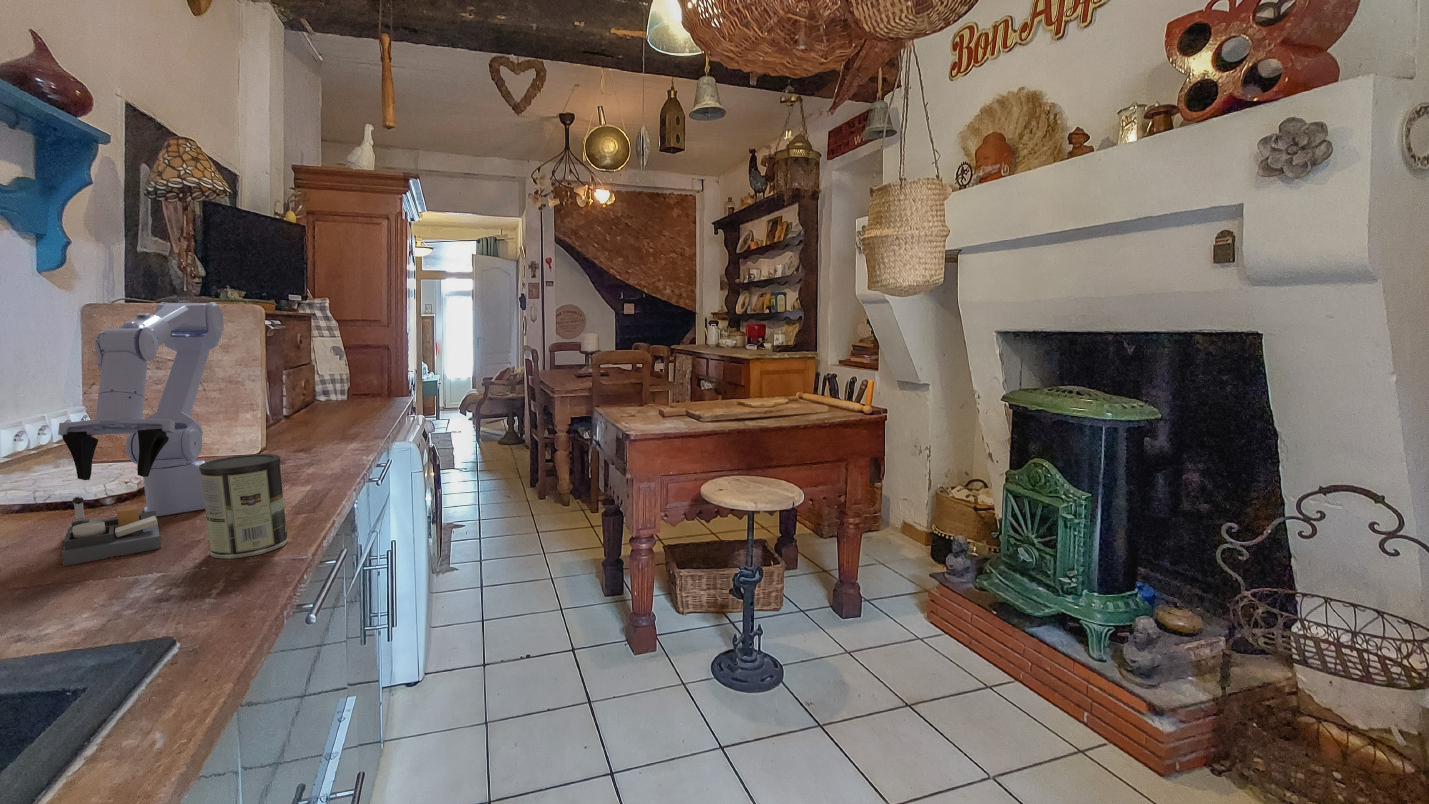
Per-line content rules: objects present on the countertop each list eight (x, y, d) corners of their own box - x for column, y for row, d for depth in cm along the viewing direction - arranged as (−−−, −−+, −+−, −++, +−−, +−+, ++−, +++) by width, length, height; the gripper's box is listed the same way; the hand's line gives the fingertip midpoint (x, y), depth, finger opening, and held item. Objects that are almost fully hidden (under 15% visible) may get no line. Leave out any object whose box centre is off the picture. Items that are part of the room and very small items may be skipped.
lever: (86, 518, 109) (83, 496, 109) (85, 517, 108) (83, 495, 108) (74, 520, 108) (72, 498, 108) (73, 519, 107) (71, 497, 107)
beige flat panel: (156, 519, 107) (154, 515, 107) (157, 524, 105) (155, 519, 104) (117, 532, 104) (115, 528, 103) (117, 537, 101) (115, 532, 101)
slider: (139, 521, 110) (137, 503, 110) (139, 526, 107) (137, 509, 107) (119, 524, 109) (117, 506, 108) (119, 530, 106) (116, 512, 105)
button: (106, 529, 103) (104, 519, 103) (105, 534, 100) (104, 525, 100) (74, 534, 101) (73, 524, 100) (72, 540, 98) (71, 530, 98)
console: (156, 521, 116) (154, 503, 116) (161, 548, 103) (158, 527, 103) (70, 535, 109) (68, 516, 109) (63, 566, 96) (60, 544, 95)
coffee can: (258, 533, 110) (250, 451, 108) (303, 540, 107) (295, 456, 105) (192, 554, 100) (182, 465, 98) (239, 562, 97) (230, 470, 95)
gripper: (51, 391, 102) (40, 476, 99) (164, 389, 108) (157, 470, 104) (76, 402, 109) (67, 483, 106) (182, 400, 114) (176, 477, 111)
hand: (113, 477), depth 105 cm, fingers open, 7 cm apart
